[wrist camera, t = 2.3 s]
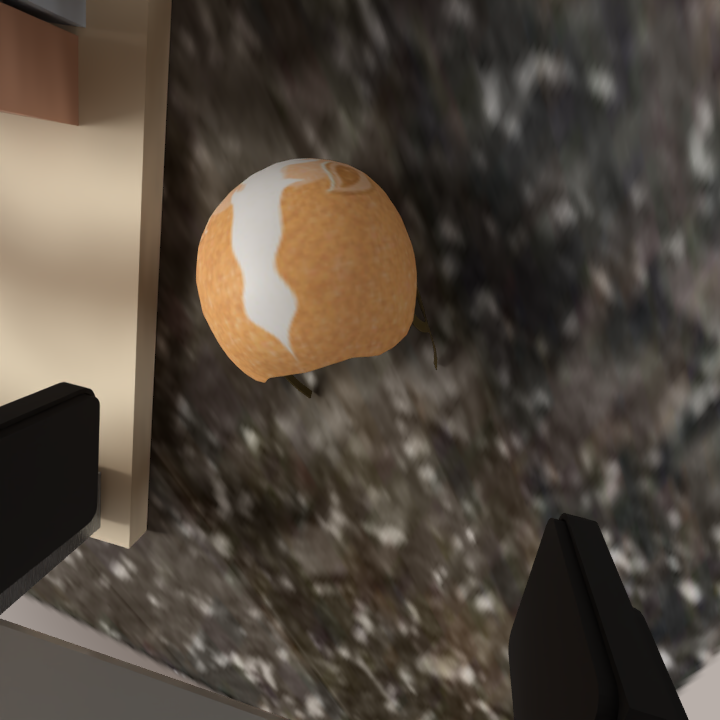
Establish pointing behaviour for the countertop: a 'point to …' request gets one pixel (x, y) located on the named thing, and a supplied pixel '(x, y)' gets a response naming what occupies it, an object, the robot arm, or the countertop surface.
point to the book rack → (85, 221)
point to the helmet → (307, 270)
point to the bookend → (51, 559)
